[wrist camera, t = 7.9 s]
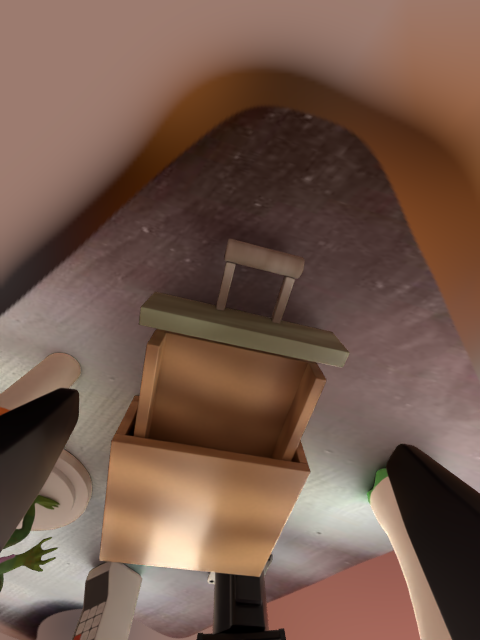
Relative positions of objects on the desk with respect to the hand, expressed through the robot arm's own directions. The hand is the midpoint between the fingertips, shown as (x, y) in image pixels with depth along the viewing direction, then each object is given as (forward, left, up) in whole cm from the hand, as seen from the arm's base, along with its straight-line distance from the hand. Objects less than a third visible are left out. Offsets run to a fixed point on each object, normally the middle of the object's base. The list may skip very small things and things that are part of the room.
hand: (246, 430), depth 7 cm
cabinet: (-18, -1, -13) cm, 22 cm away
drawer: (-5, -1, -12) cm, 13 cm away
